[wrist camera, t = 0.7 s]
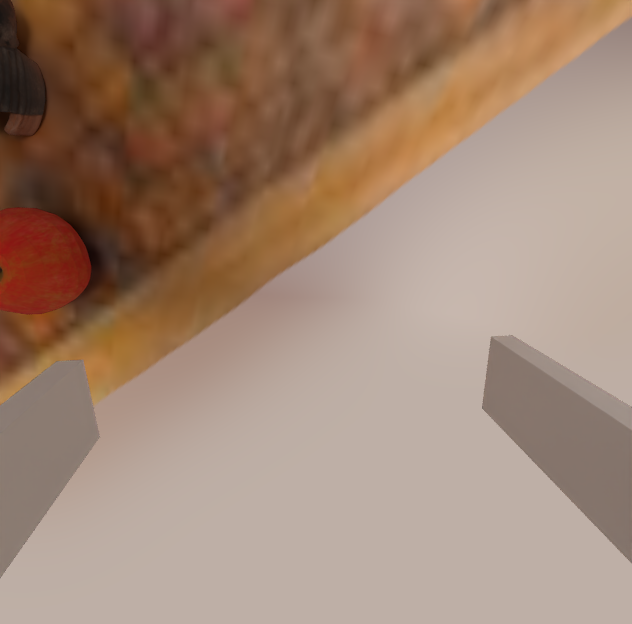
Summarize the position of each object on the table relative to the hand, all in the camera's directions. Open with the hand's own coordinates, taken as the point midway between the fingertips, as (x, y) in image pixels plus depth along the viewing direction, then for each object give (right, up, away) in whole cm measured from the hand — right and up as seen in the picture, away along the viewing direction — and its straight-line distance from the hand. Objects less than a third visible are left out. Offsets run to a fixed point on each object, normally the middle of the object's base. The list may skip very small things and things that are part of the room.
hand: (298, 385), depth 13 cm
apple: (-22, +8, +22) cm, 33 cm away
